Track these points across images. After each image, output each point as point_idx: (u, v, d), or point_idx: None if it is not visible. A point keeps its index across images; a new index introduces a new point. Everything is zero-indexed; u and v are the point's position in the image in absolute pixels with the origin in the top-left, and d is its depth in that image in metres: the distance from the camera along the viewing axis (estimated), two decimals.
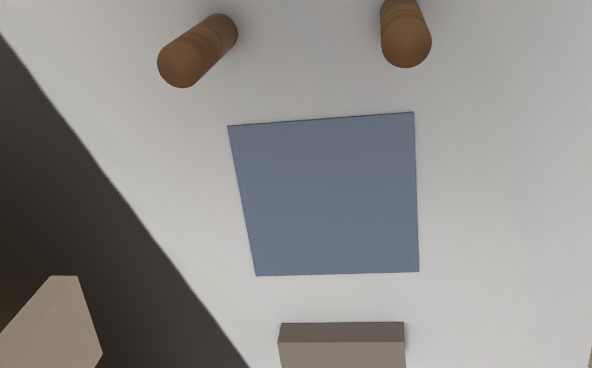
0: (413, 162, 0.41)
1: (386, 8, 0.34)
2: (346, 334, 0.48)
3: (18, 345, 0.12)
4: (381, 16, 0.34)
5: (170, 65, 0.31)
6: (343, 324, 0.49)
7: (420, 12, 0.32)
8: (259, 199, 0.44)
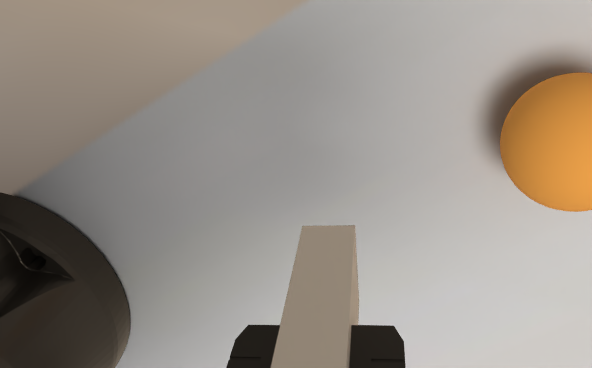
0: None
1: None
2: None
3: (318, 280, 0.13)
4: None
5: None
6: None
7: None
8: None
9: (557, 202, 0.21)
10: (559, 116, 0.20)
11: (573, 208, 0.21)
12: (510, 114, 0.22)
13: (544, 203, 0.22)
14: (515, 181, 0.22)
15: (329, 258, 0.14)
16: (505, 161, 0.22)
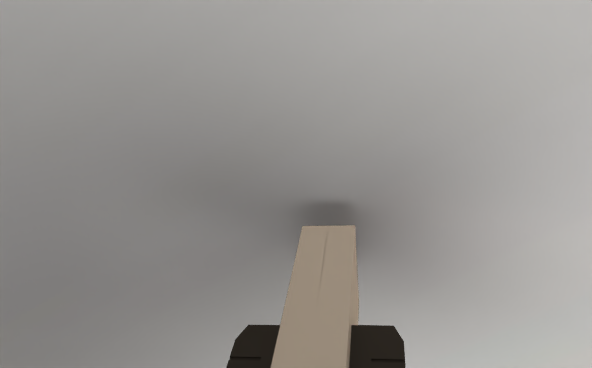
0: None
1: None
2: None
3: (318, 280, 0.13)
4: None
5: None
6: None
7: None
8: None
9: None
10: None
11: None
12: None
13: None
14: None
15: (329, 258, 0.14)
16: None
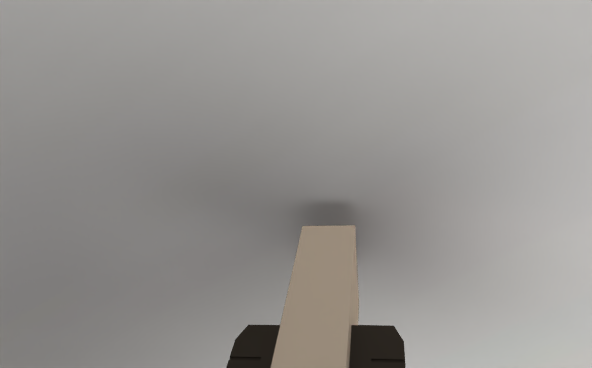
0: None
1: None
2: None
3: (318, 280, 0.13)
4: None
5: None
6: None
7: None
8: None
9: None
10: None
11: None
12: None
13: None
14: None
15: (329, 258, 0.14)
16: None
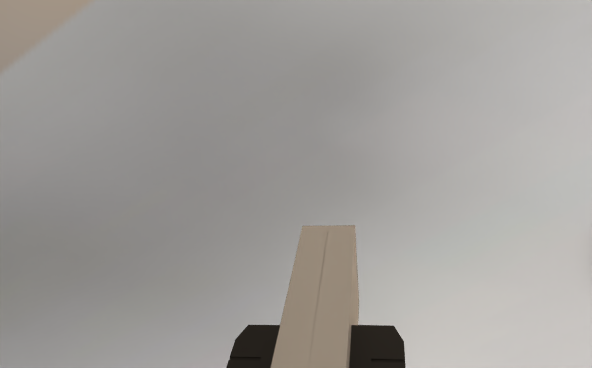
0: None
1: None
2: None
3: (318, 280, 0.13)
4: None
5: None
6: None
7: None
8: None
9: None
10: None
11: None
12: None
13: None
14: None
15: (329, 258, 0.14)
16: None
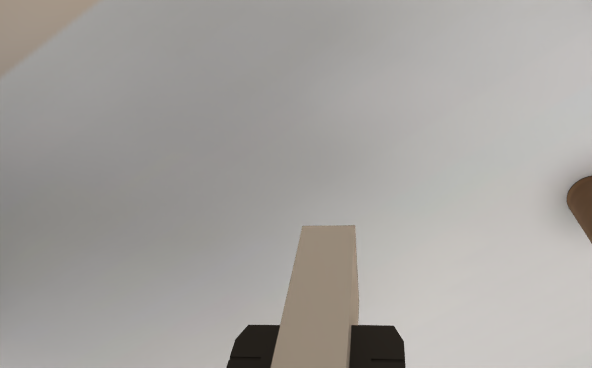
0: None
1: None
2: None
3: (318, 280, 0.13)
4: None
5: None
6: None
7: None
8: None
9: None
10: None
11: None
12: None
13: None
14: None
15: (329, 258, 0.14)
16: None
